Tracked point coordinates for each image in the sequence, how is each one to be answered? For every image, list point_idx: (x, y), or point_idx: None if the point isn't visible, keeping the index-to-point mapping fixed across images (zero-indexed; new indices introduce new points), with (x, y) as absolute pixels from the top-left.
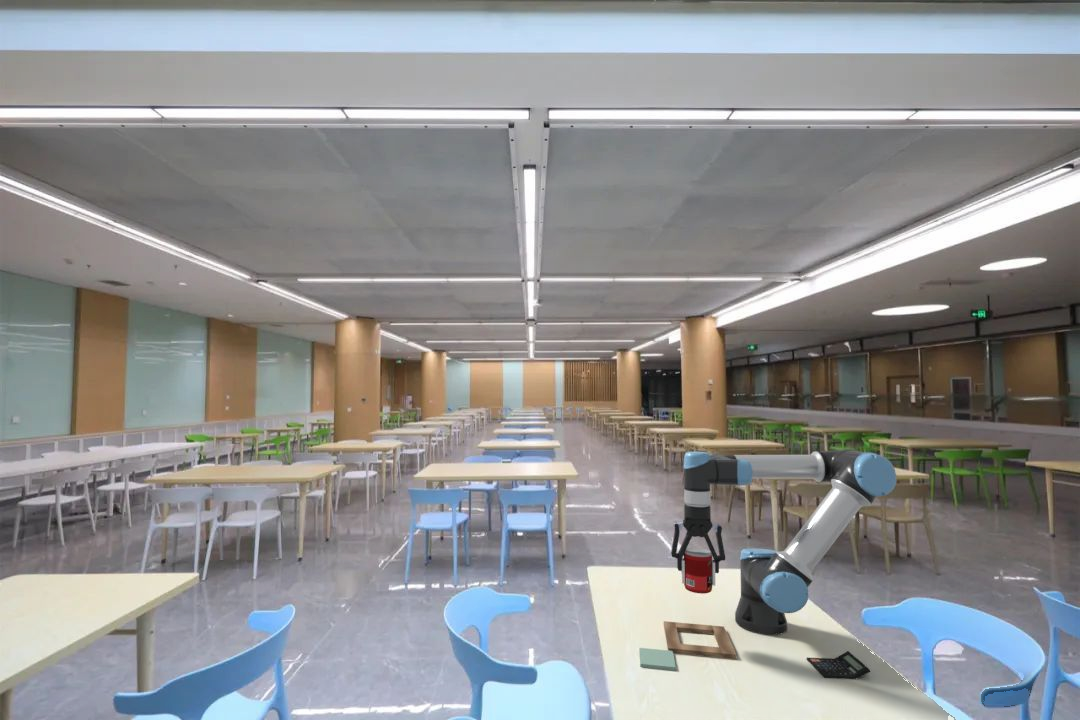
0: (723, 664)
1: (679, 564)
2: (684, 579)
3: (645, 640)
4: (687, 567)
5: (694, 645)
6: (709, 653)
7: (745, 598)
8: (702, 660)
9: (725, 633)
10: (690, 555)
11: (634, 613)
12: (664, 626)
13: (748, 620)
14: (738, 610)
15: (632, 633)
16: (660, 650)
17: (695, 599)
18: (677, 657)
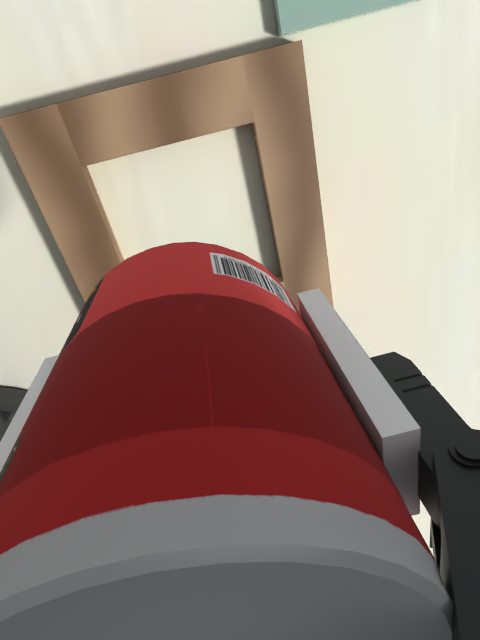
0: (42, 29)
1: (417, 399)
2: (308, 308)
3: (396, 130)
4: (315, 365)
5: (191, 131)
6: (117, 88)
7: None
8: (140, 29)
9: None
10: (333, 503)
11: (430, 347)
12: (328, 269)
13: None
14: None
15: (447, 175)
16: (336, 11)
17: None
18: (253, 6)
